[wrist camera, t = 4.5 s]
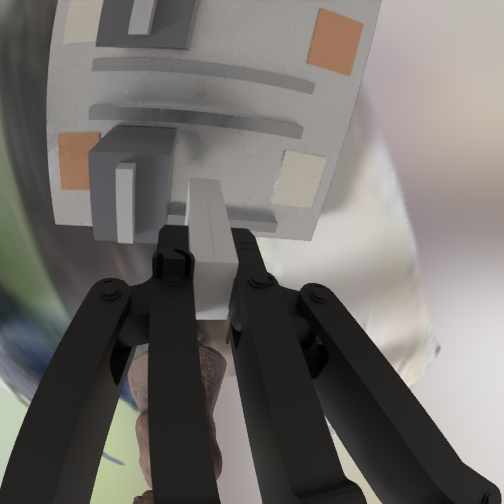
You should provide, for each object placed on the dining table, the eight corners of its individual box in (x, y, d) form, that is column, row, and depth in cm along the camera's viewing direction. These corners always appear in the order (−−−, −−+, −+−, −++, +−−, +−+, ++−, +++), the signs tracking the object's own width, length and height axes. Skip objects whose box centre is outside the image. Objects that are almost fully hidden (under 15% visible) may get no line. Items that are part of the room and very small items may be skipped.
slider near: (122, 48, 13) (89, 46, 9) (137, -27, 10) (112, -56, 6) (189, 50, 14) (185, 47, 10) (206, -24, 11) (209, -57, 7)
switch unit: (68, 205, 22) (50, 231, 18) (86, -39, 10) (65, -53, 7) (300, 221, 26) (314, 248, 23) (361, -2, 15) (390, -7, 12)
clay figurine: (152, 284, 28) (155, 571, 8) (241, 311, 32) (293, 553, 13) (122, 353, 34) (121, 551, 14) (194, 370, 38) (216, 552, 19)
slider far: (113, 197, 19) (90, 248, 14) (114, 126, 16) (82, 157, 11) (170, 201, 20) (163, 253, 15) (177, 129, 17) (168, 161, 12)
